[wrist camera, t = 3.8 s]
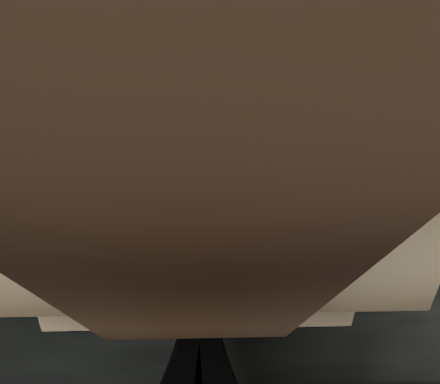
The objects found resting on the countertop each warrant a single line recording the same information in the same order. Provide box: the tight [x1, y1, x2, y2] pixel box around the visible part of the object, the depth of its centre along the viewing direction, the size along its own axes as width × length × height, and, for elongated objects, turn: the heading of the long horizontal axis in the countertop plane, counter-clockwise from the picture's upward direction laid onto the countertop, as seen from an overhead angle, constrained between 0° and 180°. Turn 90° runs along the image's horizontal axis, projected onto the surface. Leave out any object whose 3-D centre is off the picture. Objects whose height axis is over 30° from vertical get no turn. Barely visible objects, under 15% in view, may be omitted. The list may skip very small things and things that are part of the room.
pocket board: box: [0, 213, 440, 331], centre depth 9 cm, size 17×13×4 cm
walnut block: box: [0, 0, 440, 340], centre depth 5 cm, size 8×4×2 cm
